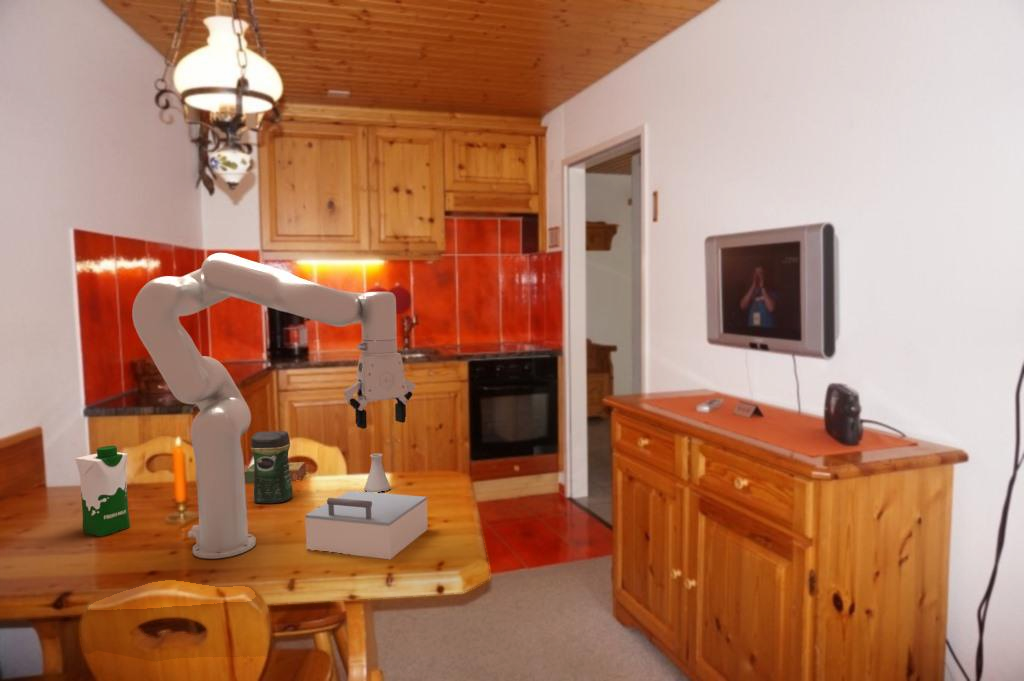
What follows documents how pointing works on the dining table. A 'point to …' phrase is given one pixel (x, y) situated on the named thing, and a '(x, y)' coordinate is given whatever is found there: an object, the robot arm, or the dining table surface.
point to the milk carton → (104, 491)
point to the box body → (366, 535)
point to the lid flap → (367, 507)
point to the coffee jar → (271, 467)
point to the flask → (377, 476)
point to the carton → (295, 469)
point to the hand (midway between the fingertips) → (381, 424)
